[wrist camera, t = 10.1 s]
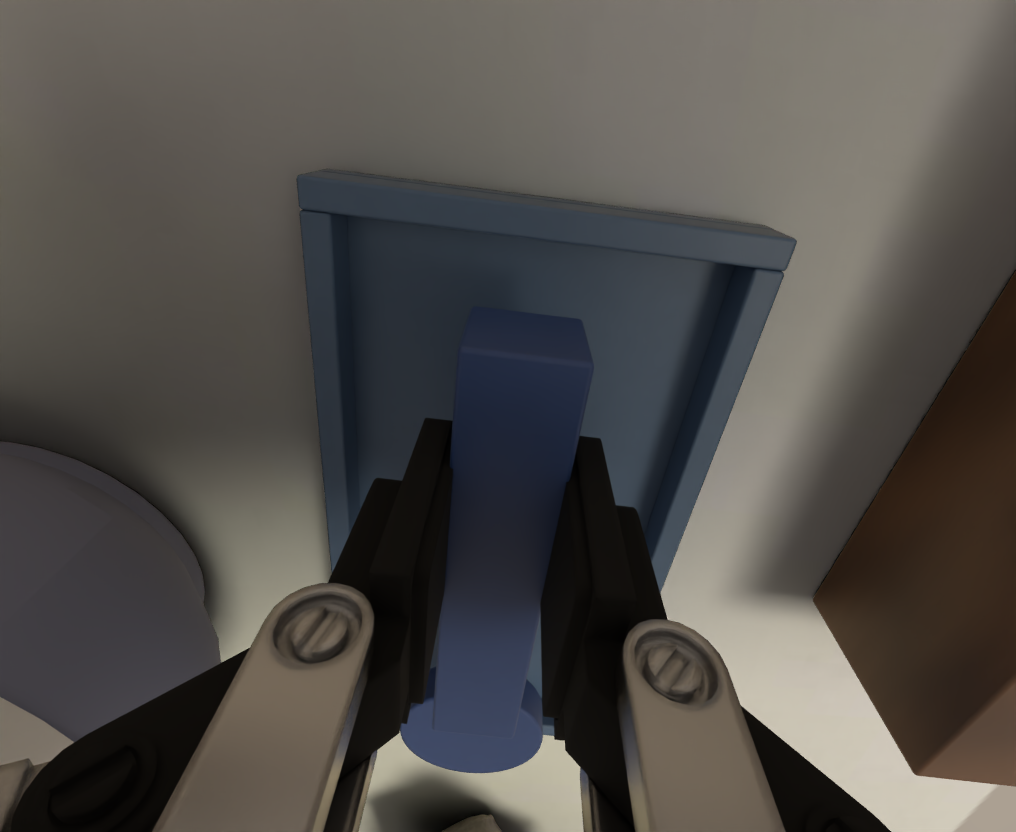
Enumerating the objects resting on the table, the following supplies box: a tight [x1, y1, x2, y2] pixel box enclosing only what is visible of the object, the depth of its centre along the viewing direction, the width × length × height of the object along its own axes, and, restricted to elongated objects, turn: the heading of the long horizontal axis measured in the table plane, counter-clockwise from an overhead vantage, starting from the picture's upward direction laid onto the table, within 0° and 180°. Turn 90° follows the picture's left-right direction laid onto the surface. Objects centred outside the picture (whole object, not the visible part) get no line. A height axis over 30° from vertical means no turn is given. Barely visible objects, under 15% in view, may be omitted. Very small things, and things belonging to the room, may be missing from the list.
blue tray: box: [297, 169, 797, 736], centre depth 14 cm, size 17×9×2 cm, turn 173°
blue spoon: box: [400, 306, 594, 773], centre depth 12 cm, size 14×4×2 cm, turn 174°
